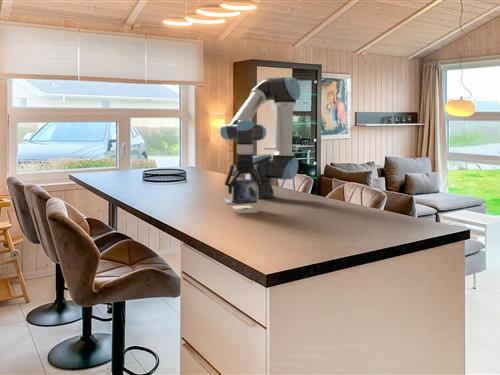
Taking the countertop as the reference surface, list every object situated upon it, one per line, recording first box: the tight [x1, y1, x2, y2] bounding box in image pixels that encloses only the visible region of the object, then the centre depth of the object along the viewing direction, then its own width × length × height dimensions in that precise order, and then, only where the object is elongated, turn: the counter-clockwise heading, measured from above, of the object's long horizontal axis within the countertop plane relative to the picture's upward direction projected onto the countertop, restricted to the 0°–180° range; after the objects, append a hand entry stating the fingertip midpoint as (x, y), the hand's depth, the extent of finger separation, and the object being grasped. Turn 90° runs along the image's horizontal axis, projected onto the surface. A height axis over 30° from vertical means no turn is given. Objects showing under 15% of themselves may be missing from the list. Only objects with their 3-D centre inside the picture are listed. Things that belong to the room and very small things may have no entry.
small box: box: [232, 179, 258, 205], centre depth 223 cm, size 11×6×10 cm, turn 117°
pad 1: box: [222, 198, 237, 205], centre depth 246 cm, size 9×10×1 cm
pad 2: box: [231, 205, 258, 214], centre depth 224 cm, size 9×14×1 cm, turn 15°
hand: (244, 200), depth 223 cm, fingers closed on small box, 11 cm apart
